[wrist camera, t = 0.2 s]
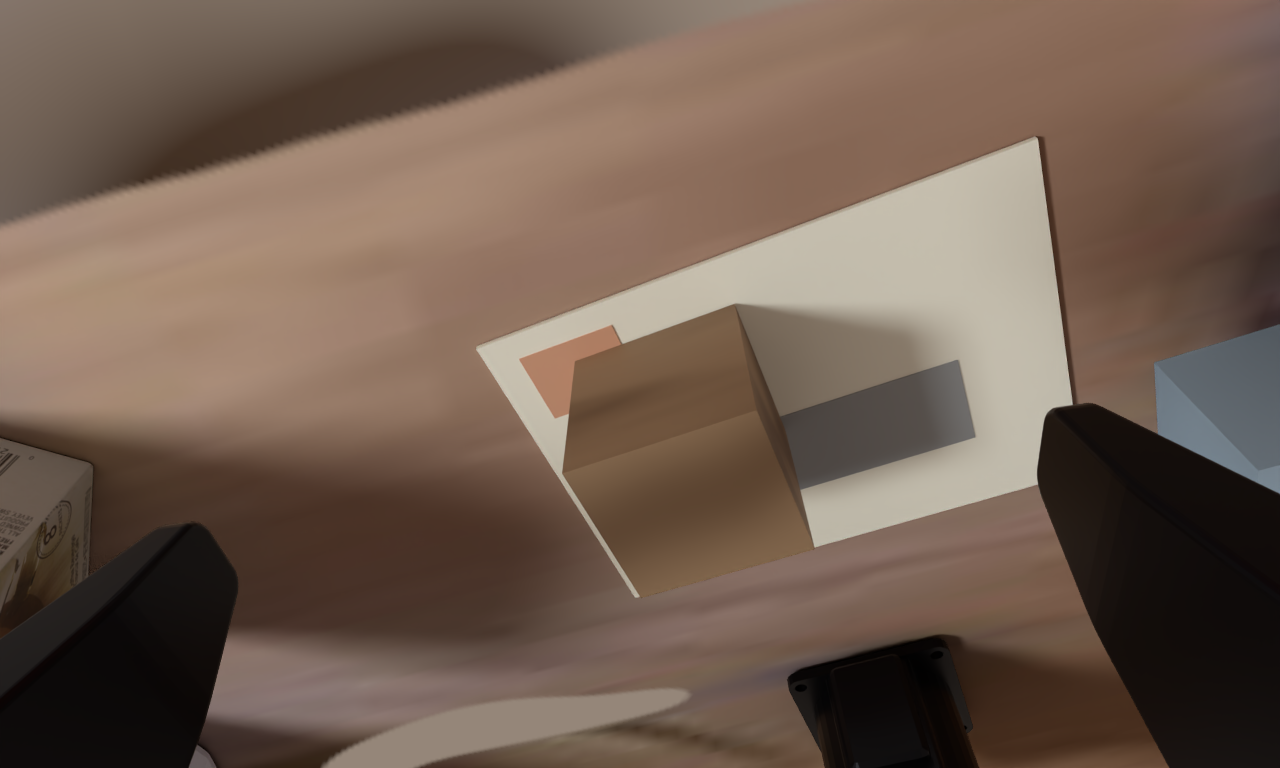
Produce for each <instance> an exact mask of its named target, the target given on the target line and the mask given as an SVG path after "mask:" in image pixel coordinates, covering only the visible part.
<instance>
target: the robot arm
mask: <svg viewBox="0 0 1280 768" xmlns="http://www.w3.org/2000/svg"><path fill="white" fill-rule="evenodd" d="M1037 482H1038V487H1039V491H1040V494H1041V497H1042V499H1043V502H1044V504H1045V507H1046V509H1047V512H1048V514H1049V517H1050V519H1051V522H1052V524H1053V527H1054V529H1055V532H1056V534H1057V537H1058V539H1059V542H1060V545H1061V547H1062V550H1063V552H1064V555H1065V557H1066V560H1067V562H1068V565H1069V567H1070V570H1071V572H1072V575H1073V577H1074V580H1075V582H1076V585H1077V587H1078V590H1079V592H1080V595H1081V597H1082V600H1083V602H1084V605H1085V607H1086V609H1087V612H1088V614H1089V616H1090V619H1091V621H1092V623H1093V626H1094V628H1095V630H1096V632H1097V634H1098V636H1099V638H1100V640H1101V642H1102V644H1103V646H1104V648H1105V650H1106V652H1107V653H1108V655H1109V657H1110V659H1111V661H1112V663H1113V664H1114V666H1115V668H1116V670H1117V672H1118V674H1119V676H1120V677H1121V679H1122V681H1123V683H1124V685H1125V687H1126V689H1127V690H1128V692H1129V694H1130V696H1131V698H1132V700H1133V701H1134V703H1135V705H1136V707H1137V709H1138V711H1139V713H1140V714H1141V716H1142V718H1143V720H1144V722H1145V724H1146V726H1147V727H1148V729H1149V731H1150V733H1151V735H1152V737H1153V738H1154V740H1155V742H1156V744H1157V746H1158V748H1159V750H1160V751H1161V753H1162V755H1163V757H1164V759H1165V761H1166V763H1167V764H1168V766H1169V768H1280V494H1279V493H1277V492H1275V491H1273V490H1271V489H1269V488H1267V487H1265V486H1263V485H1261V484H1259V483H1257V482H1255V481H1253V480H1251V479H1249V478H1247V477H1245V476H1243V475H1240V474H1238V473H1236V472H1234V471H1232V470H1230V469H1228V468H1226V467H1224V466H1222V465H1220V464H1218V463H1216V462H1214V461H1212V460H1210V459H1208V458H1206V457H1204V456H1202V455H1200V454H1198V453H1195V452H1193V451H1191V450H1189V449H1187V448H1185V447H1183V446H1181V445H1179V444H1177V443H1175V442H1173V441H1171V440H1169V439H1167V438H1165V437H1163V436H1161V435H1159V434H1157V433H1155V432H1152V431H1150V430H1148V429H1146V428H1144V427H1142V426H1140V425H1138V424H1136V423H1134V422H1132V421H1130V420H1128V419H1126V418H1124V417H1122V416H1120V415H1118V414H1116V413H1114V412H1112V411H1110V410H1107V409H1105V408H1103V407H1101V406H1099V405H1096V404H1093V403H1083V404H1076V405H1068V406H1060V407H1055V408H1052V409H1051V410H1049V411H1048V412H1047V414H1046V416H1045V419H1044V423H1043V430H1042V437H1041V444H1040V451H1039V459H1038V466H1037ZM237 594H238V577H237V574H236V571H235V569H234V567H233V566H232V564H231V563H230V561H229V560H228V558H227V557H226V555H225V554H224V552H223V551H222V549H221V548H220V546H219V545H218V543H217V542H216V540H215V539H214V537H213V536H212V534H211V533H210V531H209V530H208V529H207V527H206V526H204V525H202V524H201V523H199V522H192V521H191V522H183V523H176V524H168V525H164V526H161V527H158V528H156V529H155V530H153V531H152V532H150V533H149V534H148V535H146V536H145V537H143V538H142V539H140V540H139V541H138V542H136V543H135V544H133V545H132V546H131V547H129V548H128V549H126V550H125V551H123V552H122V553H121V554H119V555H118V556H116V557H115V558H114V559H112V560H111V561H109V562H108V563H107V564H105V565H104V566H102V567H101V568H99V569H98V570H97V571H95V572H94V573H92V574H91V575H90V576H88V577H87V578H85V579H84V580H82V581H81V582H80V583H78V584H77V585H75V586H74V587H73V588H71V589H70V590H68V591H67V592H65V593H64V594H63V595H61V596H60V597H58V598H57V599H56V600H54V601H53V602H51V603H50V604H48V605H47V606H46V607H44V608H43V609H41V610H40V611H39V612H37V613H36V614H34V615H33V616H32V617H30V618H29V619H27V620H26V621H24V622H23V623H22V624H20V625H19V626H17V627H16V628H15V629H13V630H12V631H10V632H9V633H7V634H6V635H5V636H3V637H2V638H0V768H189V766H190V763H191V760H192V758H193V755H194V752H195V749H196V746H197V744H198V741H199V738H200V735H201V732H202V729H203V726H204V723H205V719H206V716H207V712H208V709H209V705H210V701H211V698H212V694H213V690H214V686H215V682H216V678H217V674H218V670H219V666H220V662H221V658H222V654H223V650H224V646H225V642H226V638H227V634H228V630H229V626H230V622H231V618H232V614H233V610H234V606H235V602H236V598H237ZM787 681H788V687H789V691H790V693H791V695H792V697H793V699H794V701H795V703H796V705H797V707H798V709H799V711H800V712H801V714H802V716H803V718H804V720H805V722H806V724H807V726H808V728H809V730H810V732H811V733H812V735H813V737H814V739H815V741H816V743H817V745H818V747H819V749H820V751H821V753H822V757H823V762H824V767H825V768H979V766H978V763H977V760H976V758H975V755H974V752H973V749H972V747H971V744H970V741H969V738H968V736H967V733H968V732H970V731H971V730H972V729H973V725H972V722H971V718H970V715H969V712H968V709H967V706H966V702H965V699H964V696H963V693H962V690H961V686H960V683H959V680H958V677H957V674H956V670H955V667H954V664H953V661H952V658H951V654H950V651H949V649H948V646H947V644H946V642H945V641H944V640H942V639H930V640H926V641H922V642H918V643H914V644H910V645H906V646H902V647H898V648H894V649H889V650H885V651H881V652H877V653H873V654H869V655H865V656H861V657H857V658H853V659H849V660H845V661H841V662H837V663H833V664H829V665H825V666H821V667H817V668H813V669H809V670H805V671H801V672H797V673H794V674H791V675H790V676H789V677H788V679H787Z"/></svg>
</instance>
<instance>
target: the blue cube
mask: <svg viewBox="0 0 1280 768" xmlns="http://www.w3.org/2000/svg"><path fill="white" fill-rule="evenodd" d="M1154 367H1155V385H1156V404H1157V422H1158V434H1159V435H1161V436H1163V437H1165V438H1167V439H1169V440H1171V441H1173V442H1175V443H1177V444H1179V445H1181V446H1183V447H1185V448H1187V449H1189V450H1191V451H1193V452H1195V453H1198V454H1200V455H1202V456H1204V457H1206V458H1208V459H1210V460H1212V461H1214V462H1216V463H1218V464H1220V465H1222V466H1224V467H1226V468H1228V469H1230V470H1232V471H1234V472H1236V473H1238V474H1240V475H1243V476H1245V477H1247V478H1249V479H1251V480H1253V481H1255V482H1257V483H1259V484H1261V485H1263V486H1265V487H1267V488H1269V489H1271V490H1273V491H1275V492H1277V493H1279V494H1280V324H1279V325H1276V326H1273V327H1270V328H1266V329H1263V330H1260V331H1256V332H1253V333H1250V334H1247V335H1243V336H1240V337H1237V338H1233V339H1230V340H1227V341H1224V342H1220V343H1217V344H1214V345H1211V346H1207V347H1204V348H1201V349H1197V350H1194V351H1191V352H1188V353H1184V354H1181V355H1178V356H1174V357H1171V358H1168V359H1165V360H1161V361H1158V362H1155V363H1154Z"/></svg>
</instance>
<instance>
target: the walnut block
mask: <svg viewBox="0 0 1280 768" xmlns="http://www.w3.org/2000/svg"><path fill="white" fill-rule="evenodd" d="M562 474H563V476H564V478H565V479H566V481H567V482H568V484H569V485H570V487H571V489H572V490H573V492H574V493H575V495H576V497H577V498H578V500H579V501H580V503H581V504H582V506H583V508H584V509H585V511H586V512H587V514H588V515H589V517H590V519H591V520H592V522H593V523H594V525H595V527H596V528H597V530H598V531H599V533H600V534H601V536H602V538H603V539H604V541H605V542H606V544H607V545H608V547H609V549H610V550H611V552H612V553H613V555H614V557H615V558H616V560H617V561H618V563H619V564H620V566H621V568H622V569H623V571H624V572H625V574H626V575H627V577H628V579H629V580H630V582H631V583H632V585H633V587H634V588H635V590H636V591H637V593H638V594H639V596H640V598H643V597H646V596H650V595H654V594H657V593H661V592H664V591H668V590H671V589H675V588H678V587H682V586H686V585H689V584H693V583H696V582H700V581H703V580H707V579H710V578H714V577H718V576H721V575H725V574H728V573H732V572H735V571H739V570H742V569H746V568H750V567H753V566H757V565H760V564H764V563H767V562H771V561H774V560H778V559H782V558H785V557H789V556H792V555H796V554H799V553H803V552H806V551H810V550H814V549H815V547H814V543H813V539H812V535H811V531H810V527H809V523H808V519H807V515H806V511H805V507H804V503H803V499H802V495H801V491H800V487H799V483H798V479H797V475H796V471H795V467H794V463H793V458H792V454H791V450H790V446H789V442H788V438H787V434H786V431H785V428H784V426H783V423H782V421H781V418H780V416H779V413H778V411H777V408H776V406H775V403H774V401H773V398H772V396H771V393H770V391H769V388H768V386H767V383H766V381H765V378H764V376H763V373H762V371H761V368H760V366H759V363H758V361H757V358H756V356H755V353H754V351H753V348H752V346H751V343H750V341H749V338H748V336H747V333H746V331H745V328H744V326H743V323H742V321H741V318H740V316H739V313H738V311H737V308H736V306H735V304H733V305H730V306H727V307H724V308H722V309H719V310H716V311H713V312H710V313H708V314H705V315H702V316H699V317H697V318H694V319H691V320H688V321H685V322H683V323H680V324H677V325H674V326H672V327H669V328H666V329H663V330H660V331H658V332H655V333H652V334H649V335H646V336H644V337H641V338H638V339H635V340H633V341H630V342H627V343H624V344H621V345H619V346H616V347H613V348H610V349H608V350H605V351H602V352H599V353H596V354H594V355H591V356H588V357H585V358H582V359H580V360H577V361H575V365H574V374H573V382H572V391H571V400H570V409H569V417H568V426H567V435H566V443H565V452H564V461H563V470H562Z"/></svg>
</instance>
